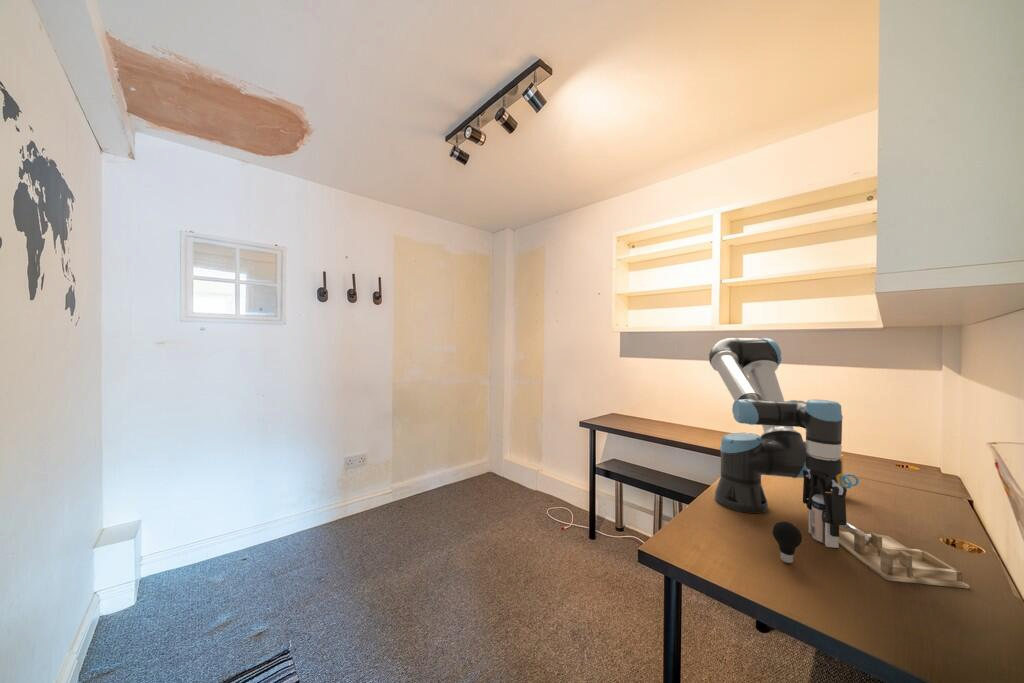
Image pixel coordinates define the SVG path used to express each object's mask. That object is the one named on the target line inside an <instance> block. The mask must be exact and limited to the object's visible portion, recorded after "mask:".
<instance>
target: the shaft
mask: <svg viewBox="0 0 1024 683" xmlns="http://www.w3.org/2000/svg"><path fill="white" fill-rule="evenodd" d="M839 527H841V528H842V529H845V530H846V532H850V533H851V534H853V535H854V531H857V532H860V533H861V534H863V535H864V536H865V543H866V544H870V543H872V538H871V537H870V536H868V535H867V534H868V533H865V532H863V531H862V530H860V529H859V528H858V527H856V526H855V525H853V524H851V523H849V522H848V521H847V525H840V526H839Z"/></svg>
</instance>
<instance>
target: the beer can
mask: <svg viewBox="0 0 1024 683" xmlns="http://www.w3.org/2000/svg"><path fill="white" fill-rule="evenodd" d="M832 519H833V518H832ZM825 521H828V519H827V514H826V509H825V503H824V498H823V496H822V495H818V494H816V495H814V496H813V497H812V534H811V537H812V538H813V539H814V540H815V541H816V542H818V541H819V542H818V543H820V544H824V545H825Z"/></svg>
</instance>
